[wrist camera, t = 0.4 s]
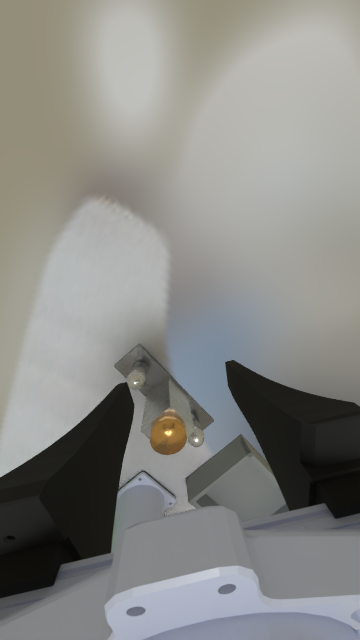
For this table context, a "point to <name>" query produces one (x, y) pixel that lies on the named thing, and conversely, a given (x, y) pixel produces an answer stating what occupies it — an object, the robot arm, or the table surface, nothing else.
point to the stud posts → (149, 375)
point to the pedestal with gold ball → (167, 418)
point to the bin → (237, 483)
